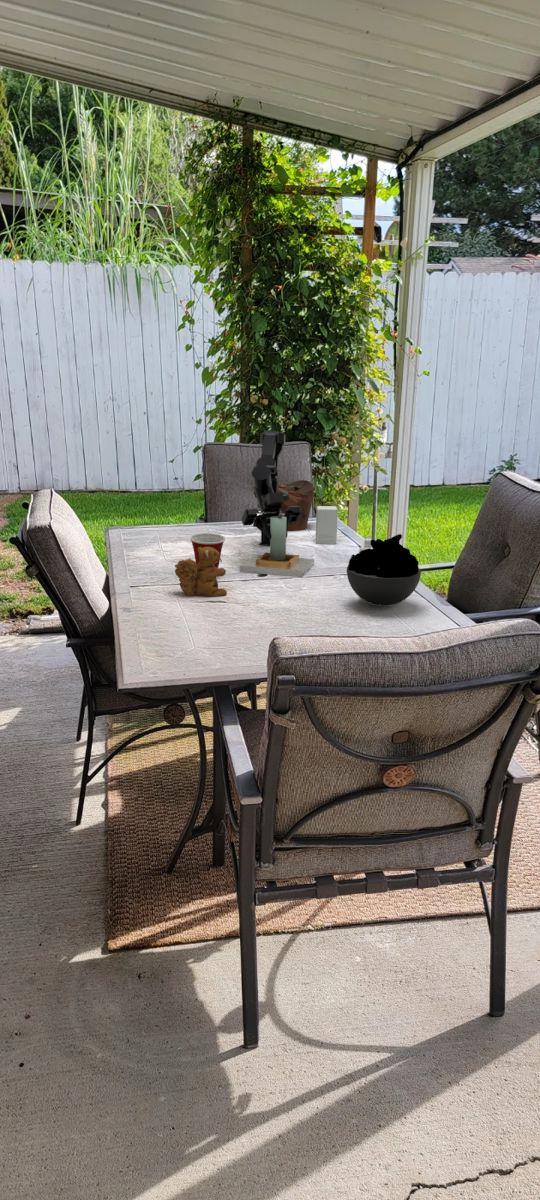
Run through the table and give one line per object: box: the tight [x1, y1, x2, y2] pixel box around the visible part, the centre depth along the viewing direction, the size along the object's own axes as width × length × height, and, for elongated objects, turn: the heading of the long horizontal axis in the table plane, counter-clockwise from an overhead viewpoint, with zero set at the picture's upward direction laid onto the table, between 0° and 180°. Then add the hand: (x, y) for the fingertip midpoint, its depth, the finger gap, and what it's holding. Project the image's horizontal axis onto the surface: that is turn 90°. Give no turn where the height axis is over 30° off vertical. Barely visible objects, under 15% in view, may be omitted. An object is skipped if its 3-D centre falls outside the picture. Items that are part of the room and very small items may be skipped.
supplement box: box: [315, 505, 339, 545], centre depth 313 cm, size 7×7×13 cm
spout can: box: [269, 512, 287, 560], centre depth 272 cm, size 5×5×15 cm
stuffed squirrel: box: [174, 547, 228, 597], centre depth 244 cm, size 10×14×13 cm
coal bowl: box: [346, 533, 422, 607], centre depth 235 cm, size 20×20×19 cm
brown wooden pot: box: [277, 479, 315, 531], centre depth 336 cm, size 18×20×18 cm
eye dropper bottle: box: [358, 534, 373, 553], centre depth 270 cm, size 4×6×12 cm
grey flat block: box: [239, 552, 315, 578], centre depth 275 cm, size 20×16×4 cm
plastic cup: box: [189, 532, 226, 568], centre depth 264 cm, size 11×11×12 cm
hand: (278, 537), depth 272 cm, fingers closed on spout can, 5 cm apart
